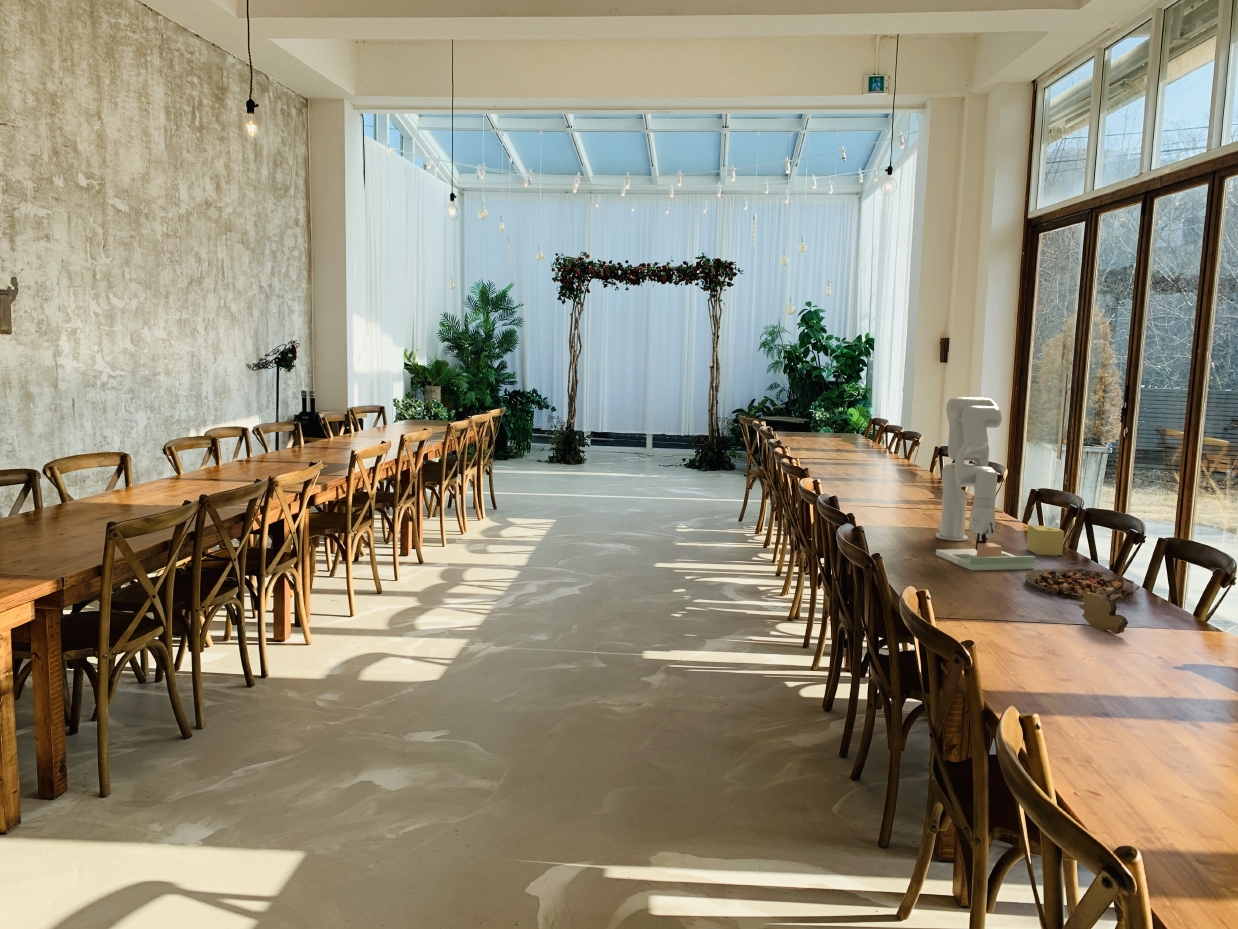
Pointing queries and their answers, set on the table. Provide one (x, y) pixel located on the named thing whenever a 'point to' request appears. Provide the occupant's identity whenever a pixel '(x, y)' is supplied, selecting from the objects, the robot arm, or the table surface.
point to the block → (989, 550)
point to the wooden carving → (1103, 614)
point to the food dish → (1078, 584)
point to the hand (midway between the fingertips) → (980, 550)
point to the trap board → (986, 560)
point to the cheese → (1045, 540)
